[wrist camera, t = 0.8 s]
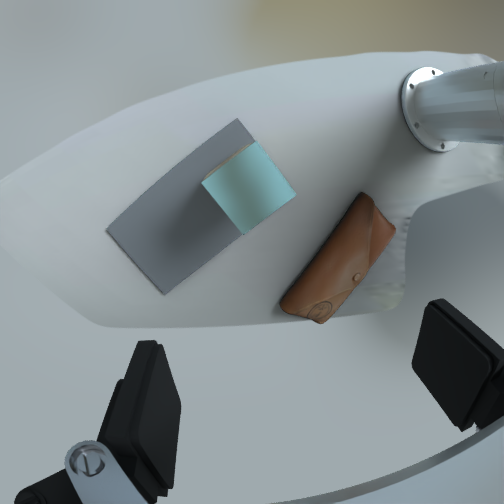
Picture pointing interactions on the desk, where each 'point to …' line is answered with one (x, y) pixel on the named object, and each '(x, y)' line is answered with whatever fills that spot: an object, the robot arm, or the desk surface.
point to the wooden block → (248, 186)
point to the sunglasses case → (340, 262)
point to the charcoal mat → (181, 215)
